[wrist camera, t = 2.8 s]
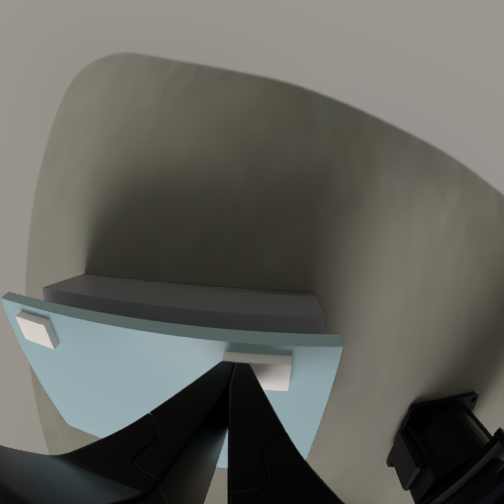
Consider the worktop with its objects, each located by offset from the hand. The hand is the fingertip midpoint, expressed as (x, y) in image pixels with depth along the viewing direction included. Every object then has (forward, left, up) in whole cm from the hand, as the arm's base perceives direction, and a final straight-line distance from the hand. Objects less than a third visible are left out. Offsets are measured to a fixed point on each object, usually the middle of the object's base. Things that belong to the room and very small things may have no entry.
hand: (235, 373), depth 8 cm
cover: (+4, +3, -2) cm, 5 cm away
